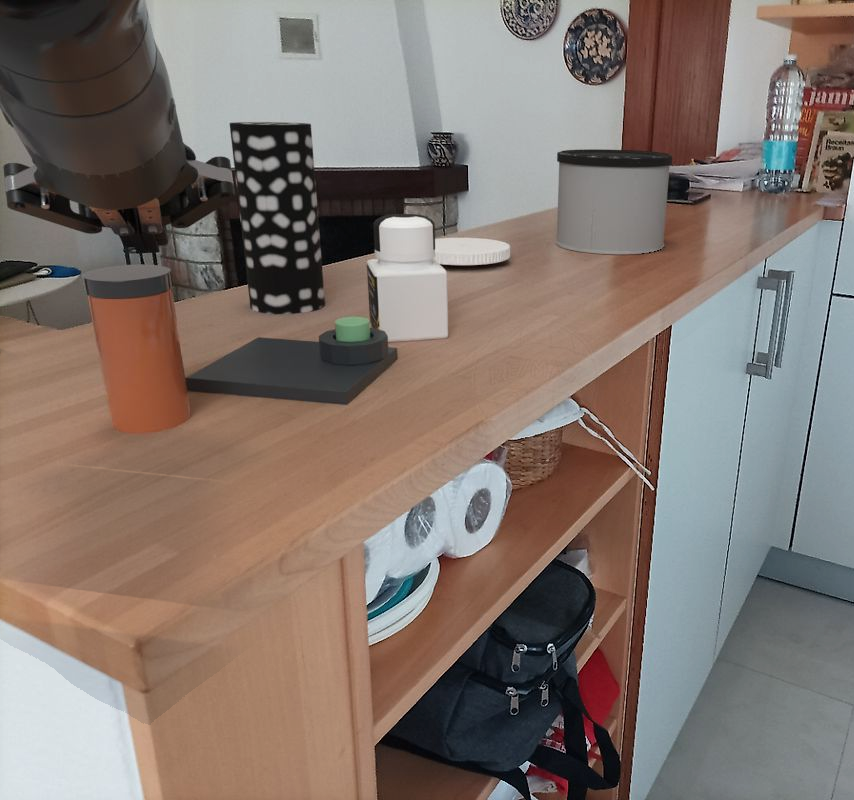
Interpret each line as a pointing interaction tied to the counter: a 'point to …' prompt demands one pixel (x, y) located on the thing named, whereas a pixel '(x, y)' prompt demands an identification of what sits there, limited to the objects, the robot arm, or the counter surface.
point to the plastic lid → (470, 251)
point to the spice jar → (138, 346)
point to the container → (612, 200)
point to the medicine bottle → (407, 280)
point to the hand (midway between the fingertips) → (146, 240)
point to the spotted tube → (278, 215)
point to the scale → (298, 368)
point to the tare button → (352, 329)
